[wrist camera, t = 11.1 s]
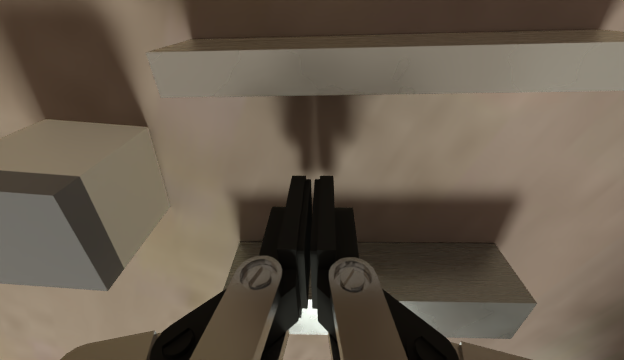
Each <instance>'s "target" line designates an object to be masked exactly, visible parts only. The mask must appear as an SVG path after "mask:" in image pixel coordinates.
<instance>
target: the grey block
mask: <svg viewBox="0 0 624 360" xmlns="http://www.w3.org/2000/svg"><path fill="white" fill-rule="evenodd" d="M169 208H170V203H169V199H168V196H167V192H166V189H165V185H164V182H163V178H162V174H161V171H160V167H159V164H158V160H157V157H156V153H155V150H154V146H153V143H152V139H151V135H150V132H149V128H148V127H142V126H129V125H116V124H103V123H90V122H77V121H64V120H51V119H44V120H42V121H40V122H37V123H35V124H33V125H30V126H28V127H26V128H23V129H21V130H19V131H16V132H14V133H12V134H9V135H7V136H5V137H2V138H0V283H2V284H16V285H30V286H45V287H59V288H73V289H87V290H101V291H108V290H109V289H110V287H111V286H112V285H113V283H114V282H115V281H116V279H117V278H118V276H119V275H120V274H121V272H122V271H123V270H124V268H125V267H126V266H127V264H128V263H129V262H130V260H131V259H132V258H133V256H134V255H135V254H136V252H137V251H138V249H139V248H140V247H141V245H142V244H143V243H144V241H145V240H146V239H147V237H148V236H149V235H150V233H151V232H152V231H153V229H154V228H155V227H156V225H157V224H158V222H159V221H160V220H161V218H162V217H163V216H164V214H165V213H166V212H167V210H168V209H169Z"/></svg>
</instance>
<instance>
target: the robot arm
mask: <svg viewBox="0 0 624 360" xmlns="http://www.w3.org/2000/svg"><path fill="white" fill-rule="evenodd" d="M310 266H311V289H312V309H317V314H318V322H319V323H320V324H321V325H322V326H323V327H324V328H325V329H326V331H327V332H328V340H329V347H330V353H331V360H531V359H527V358H524V357H520V356H516V355H512V354H508V353H504V352H500V351H497V350H493V349H489V348H485V347H481V346H477V345H474V344H470V343H466V342H462V341H461V342H460V344H456V343H452V342H450V341H449V340H448V339H447V338H446V337H444V336H443V335H442V334H441V333H440V332H438V331H437V330H436V329H434V328H433V327H432V326H431V325H429V324H428V323H427V322H425V321H424V320H423V319H421V318H420V317H419V316H417V315H416V314H415V313H413V312H412V311H411V310H410V309H408V308H407V307H406V306H404V305H403V304H402V303H400V302H399V301H398V300H396V299H395V298H394V297H392V296H391V295H390V294H389V293H387V292H386V291H385V290H383V289H382V288H381V285H380V282H379V279H378V277H377V274H376V272H375V270H374V268H373V267H372V266H371V265H370V264H369V263H368V262H366V261H364V260H362V259H359V253H358V245H357V238H356V230H355V222H354V214H353V208H335V207H334V180H333V176H320V179H315V184H314V198H313V213H312V197H311V179H306V176H292V179H291V184H290V189H289V194H288V198H287V203H286V207H273V208H272V209H271V213H270V216H269V220H268V224H267V227H266V231H265V235H264V238H263V242H262V246H261V249H260V253H259V256H255V257H252V258H250V259H248V260H246V261H245V262H243V263H242V264H241V265H240V266H239V268H238V269H237V270H236V272H235V274H234V276H233V278H232V280H231V282H230V284H229V285H228V287H227V289H225V290H224V291H222V292H221V293H219V294H218V295H216V296H215V297H213V298H212V299H210V300H208V301H207V302H205V303H204V304H202V305H201V306H199V307H198V308H196V309H195V310H193V311H192V312H190V313H189V314H187V315H186V316H184V317H183V318H181V319H180V320H178V321H177V322H175V323H173V324H172V325H170V326H169V327H168V328H167V329H166V330H164V331H163V332H162V333H158V334H156V332H155V331H150V332H145V333H140V334H134V335H129V336H124V337H119V338H114V339H109V340H104V341H99V342H94V343H89V344H85V345H82V346H79V347H77V348H75V349H74V350H72V351H70V352H69V353H67V354H66V355H65V356H64V357H63V358H62V359H60V360H283V356H284V352H285V348H286V345H287V341H288V337H289V331H290V328H291V327H292V326H293V325H294V324H295V323H297V322H298V321H299V318H301V316H302V309H308V297H309V281H310Z"/></svg>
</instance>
